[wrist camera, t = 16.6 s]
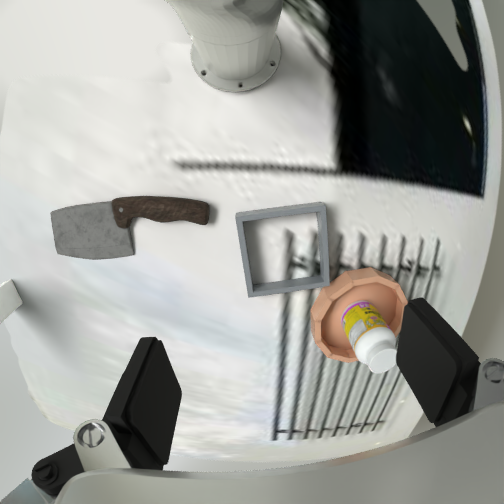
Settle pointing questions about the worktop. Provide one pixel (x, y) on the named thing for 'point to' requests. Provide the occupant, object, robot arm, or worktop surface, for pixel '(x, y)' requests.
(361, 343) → the supplement bottle
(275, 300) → the worktop surface
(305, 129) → the worktop surface
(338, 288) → the bowl
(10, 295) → the milk
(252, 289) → the grey square frame
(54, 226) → the cleaver
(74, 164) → the worktop surface
